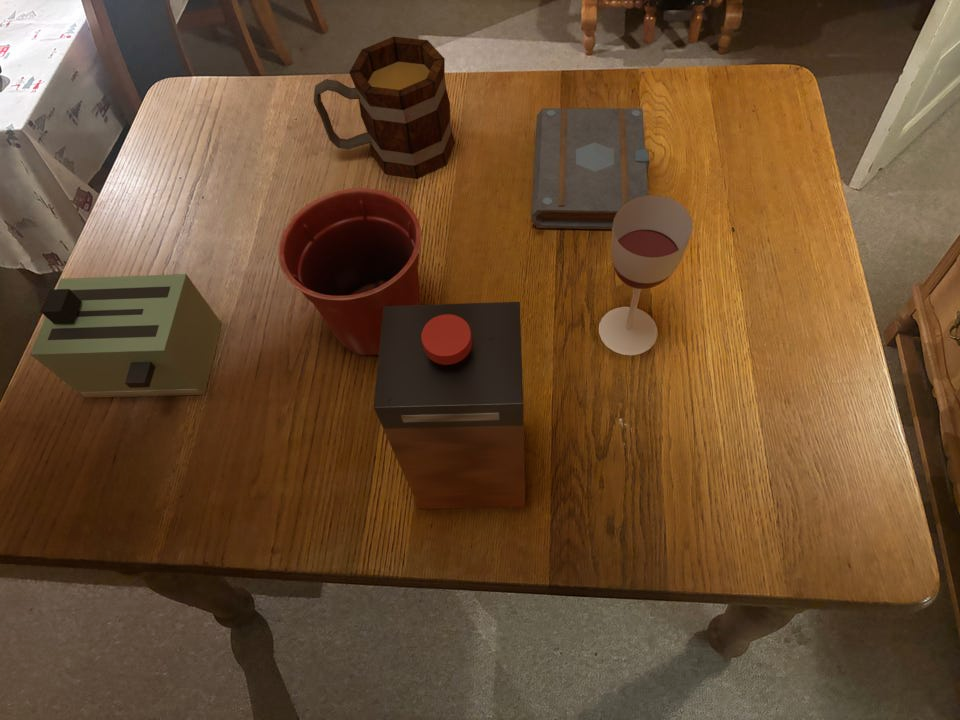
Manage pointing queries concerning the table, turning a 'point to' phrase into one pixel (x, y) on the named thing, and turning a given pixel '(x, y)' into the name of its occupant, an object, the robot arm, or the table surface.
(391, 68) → the mug
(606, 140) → the book
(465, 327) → the timer button
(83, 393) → the toaster
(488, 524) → the table surface
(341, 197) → the flower pot
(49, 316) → the slider
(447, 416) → the red button pedestal
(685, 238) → the wineglass
